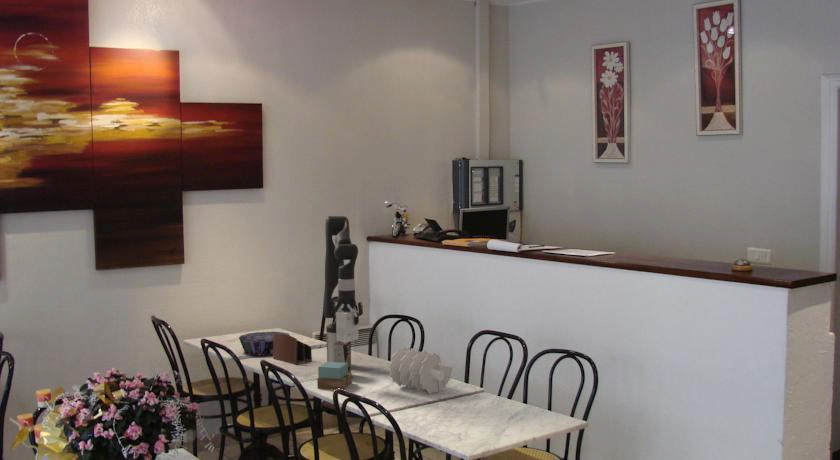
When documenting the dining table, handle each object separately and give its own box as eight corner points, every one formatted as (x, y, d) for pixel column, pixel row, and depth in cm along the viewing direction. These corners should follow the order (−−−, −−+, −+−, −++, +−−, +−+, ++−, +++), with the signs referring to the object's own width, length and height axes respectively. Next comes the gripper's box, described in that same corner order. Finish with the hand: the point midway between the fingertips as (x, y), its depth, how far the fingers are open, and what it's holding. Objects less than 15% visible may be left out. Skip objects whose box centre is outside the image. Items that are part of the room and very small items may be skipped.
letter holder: (296, 365, 423) (295, 337, 422) (272, 359, 437) (272, 331, 436) (312, 361, 430) (311, 334, 429) (288, 355, 444) (288, 329, 443)
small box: (348, 337, 387) (347, 309, 386) (358, 339, 383) (358, 310, 382) (336, 340, 381) (335, 312, 380) (346, 342, 377) (346, 313, 376)
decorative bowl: (235, 352, 462) (233, 334, 461) (285, 343, 473) (283, 325, 472) (245, 362, 439) (243, 343, 438) (297, 352, 450) (295, 334, 448)
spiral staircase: (433, 405, 365) (391, 392, 382) (458, 380, 376) (415, 368, 393) (422, 371, 358) (379, 359, 374) (447, 347, 369) (405, 336, 385)
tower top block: (327, 372, 389) (327, 361, 389) (347, 373, 386) (347, 362, 386) (318, 377, 379) (318, 366, 379) (339, 379, 376) (339, 368, 376)
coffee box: (346, 379, 395) (345, 344, 393) (333, 378, 396) (332, 344, 395) (351, 374, 404) (351, 340, 402) (338, 373, 405) (338, 340, 404)
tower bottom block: (327, 382, 391) (327, 371, 390) (352, 384, 387) (351, 373, 387) (317, 389, 379) (317, 378, 379) (342, 391, 376) (342, 379, 375)
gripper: (364, 287, 382) (364, 323, 384) (334, 286, 385) (334, 322, 387) (359, 290, 375) (359, 326, 376) (328, 289, 378) (329, 325, 380)
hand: (347, 324), depth 382 cm, fingers closed on small box, 8 cm apart
